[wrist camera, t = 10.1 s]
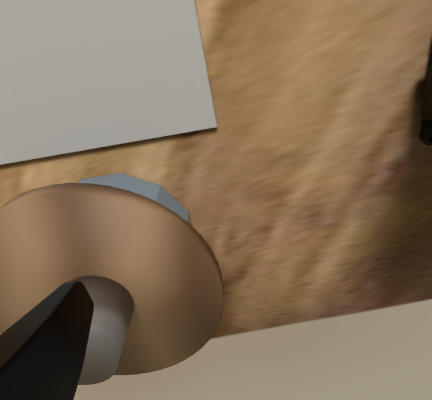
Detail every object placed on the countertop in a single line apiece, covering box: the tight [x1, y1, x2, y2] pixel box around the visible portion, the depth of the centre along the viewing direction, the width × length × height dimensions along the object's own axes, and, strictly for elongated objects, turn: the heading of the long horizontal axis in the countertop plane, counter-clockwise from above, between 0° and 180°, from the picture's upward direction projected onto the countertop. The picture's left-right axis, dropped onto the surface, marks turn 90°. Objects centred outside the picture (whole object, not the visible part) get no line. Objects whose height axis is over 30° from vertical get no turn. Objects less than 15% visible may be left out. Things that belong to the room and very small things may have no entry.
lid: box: [0, 183, 223, 385], centre depth 17 cm, size 14×14×4 cm
